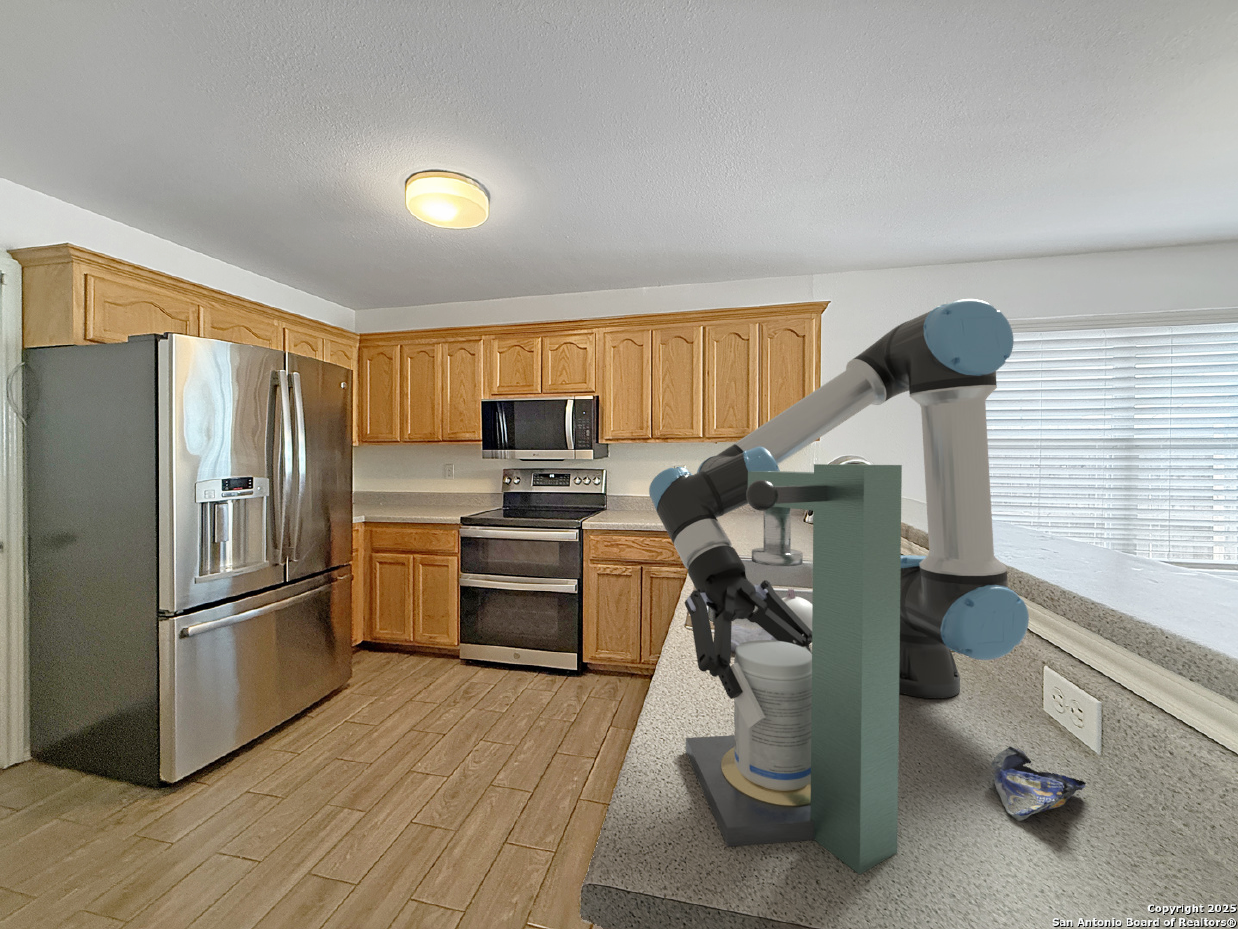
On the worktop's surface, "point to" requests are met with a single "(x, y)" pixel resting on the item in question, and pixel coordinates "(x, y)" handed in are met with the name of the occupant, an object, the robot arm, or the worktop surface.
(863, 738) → the arbor press
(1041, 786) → the snack package
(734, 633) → the stone block
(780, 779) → the supplement tub
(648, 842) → the worktop surface
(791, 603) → the ornament
